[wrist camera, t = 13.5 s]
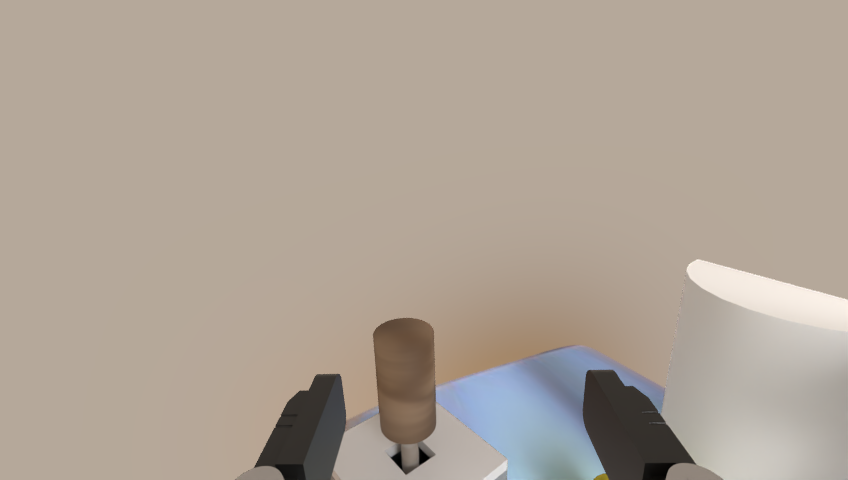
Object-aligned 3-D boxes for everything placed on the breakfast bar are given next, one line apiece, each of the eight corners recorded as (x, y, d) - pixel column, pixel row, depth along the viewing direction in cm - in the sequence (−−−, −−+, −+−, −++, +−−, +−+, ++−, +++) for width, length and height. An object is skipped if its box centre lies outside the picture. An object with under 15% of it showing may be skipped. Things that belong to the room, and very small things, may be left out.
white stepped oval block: (799, 647, 34) (908, 363, 26) (617, 490, 48) (649, 275, 40) (873, 542, 42) (975, 298, 33) (698, 434, 56) (738, 245, 48)
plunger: (424, 532, 42) (413, 300, 34) (475, 595, 37) (478, 335, 28) (361, 583, 38) (332, 330, 30) (408, 665, 32) (389, 379, 24)
